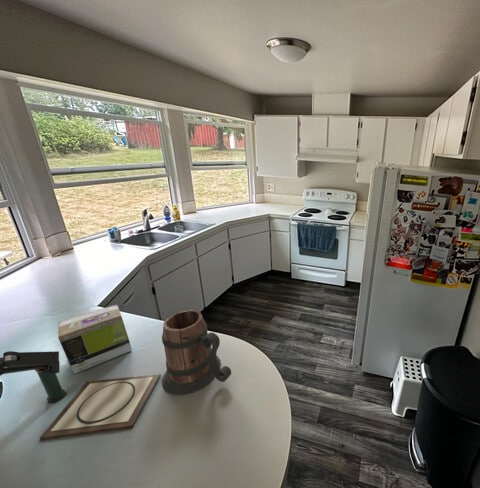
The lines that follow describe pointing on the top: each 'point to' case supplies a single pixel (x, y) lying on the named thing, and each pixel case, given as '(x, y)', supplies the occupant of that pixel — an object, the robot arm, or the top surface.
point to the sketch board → (103, 406)
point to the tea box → (93, 338)
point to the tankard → (190, 354)
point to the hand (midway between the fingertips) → (16, 379)
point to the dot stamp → (51, 386)
